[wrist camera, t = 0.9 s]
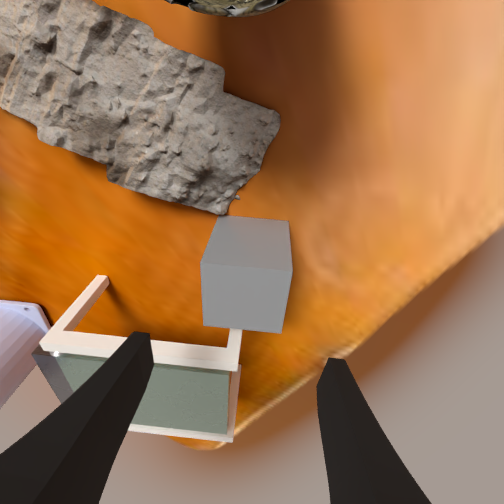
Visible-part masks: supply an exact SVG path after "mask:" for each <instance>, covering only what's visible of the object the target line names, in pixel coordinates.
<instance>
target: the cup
mask: <svg viewBox="0 0 504 504" xmlns="http://www.w3.org/2000/svg"><path fill="white" fill-rule="evenodd" d="M165 1H167V2H169V3H171V4H180V5H183V6H186V7H189V8H190V10H192V11H196V12H200V13H204V14H210V15H217V16H227V17H249V16H255V15H260V14H263V13H266V12H269V11H271V10H273V9H276V8H278V7H280V6H282V5H283V4H285V3H286V2H288V1H290V0H165Z"/></svg>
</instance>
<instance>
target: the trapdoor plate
mask: <svg viewBox="0 0 504 504" xmlns="http://www.w3.org/2000/svg"><path fill="white" fill-rule="evenodd" d="M31 355H32V357H33V358H34V360H35V361H36V363H37V365H38V366H39V368H40V370H41V371H42V373H43V374H44V376H45V378H46V379H47V381H48V383H49V384H50V386H51V387H52V389H53V390H54V392H55V394H56V396H57V397H58V399H59V400H60V402H61V404H62V403H63V402H64V401H65V400H66V399H67V398H68V397H70V396H71V395H72V394H73V393H74V392H75V391H76V390H77V389H78V388H79V387H80V386H81V385H82V384H83V383H84V382H86V381H87V380H88V379H89V378H90V377H91V376H92V375H93V374H94V373H95V372H96V371H97V370H98V369H99V368H100V367H101V366H102V365H103V364H104V362H105V361H106V360H107V359H108V358H107V357H98V356H88V355H79V354H70V353H60V352H51V351H44V350H43V349H42V347H41V345H40V344H39V345H38V346H37V347H36V349H35V350H34V351H33V352H32V353H31ZM230 375H231V371H227V370H218V369H209V368H200V367H190V366H181V365H172V364H162V363H154V367H153V370H152V373H151V376H150V379H149V382H148V385H147V388H146V391H145V393H144V395H143V397H142V400H141V402H140V404H139V406H138V409H137V411H136V413H135V415H134V417H133V420H132V422H131V424H138V425H146V426H155V427H164V428H173V429H182V430H191V431H200V432H208V433H217V434H226V435H227V428H228V421H229V398H230Z"/></svg>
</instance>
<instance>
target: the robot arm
mask: <svg viewBox="0 0 504 504" xmlns="http://www.w3.org/2000/svg"><path fill="white" fill-rule="evenodd" d="M50 329H51V326H50V324H49V322H48V320H47V318H46V316H45V314H44V312H43V310H42V308H41V307H40V306H39V305H38V304H35V303H26V302H17V301H7V300H0V409H1V407H2V406H3V405H4V404H5V403H6V401H7V400H8V399H9V398H10V397H11V395H12V394H13V393H14V392H15V390H16V389H17V388H18V387H19V385H20V384H21V383H22V382H23V380H24V379H25V378H26V377H27V375H28V374H29V373H30V372H31V371H32V370H33V368H34V367H35V366H36V365H37V363H36V361H35V360H34V358H33V357H32V355H31V353H32V352H33V351H34V350H35V349H36V347H37V346H38V345H39V344H40V343H39V342H40V340H41V339H42V338H43V337H44V336H45V335H46V334H47V332H48V331H49V330H50ZM153 367H154V359H153V353H152V347H151V341H150V334H149V333H142V332H135V331H134V332H133V333H131V335H130V336H129V337H128V338H127V339H126V340H125V341H124V342H123V343H122V344H121V346H120V347H119V348H118V349H117V350H116V351H115V352H114V353H113V354H112V355H111V356H110V357H109V358H108V359H107V360H106V361H105V362H104V364H103V365H102V366H101V367H100V368H99V369H98V370H97V371H96V372H95V373H94V374H93V375H92V376H91V377H90V378H89V379H88V380H87V381H86V382H84V383H83V384H82V385H81V386H80V387H79V388H78V389H77V390H76V391H75V392H74V393H73V394H72V395H71V396H70V397H68V398H67V399H66V400H65V401H64V402H63V403H62V404H61V405H60V406H59V407H58V408H56V409H55V410H54V411H53V412H52V413H51V414H50V415H48V416H47V417H46V418H45V419H44V420H43V421H41V422H40V423H39V424H38V425H37V426H36V427H34V428H33V429H32V430H30V431H29V432H28V433H27V434H26V435H24V436H23V437H22V438H20V439H19V440H18V441H17V442H15V443H14V444H13V445H12V446H10V447H9V448H8V449H6V450H5V451H4V452H3V453H1V454H0V504H99V501H100V498H101V495H102V492H103V490H104V487H105V484H106V481H107V479H108V476H109V473H110V470H111V468H112V465H113V462H114V460H115V458H116V455H117V453H118V450H119V448H120V446H121V444H122V441H123V439H124V437H125V435H126V433H127V431H128V428H129V426H130V424H131V422H132V420H133V417H134V415H135V413H136V411H137V409H138V406H139V404H140V402H141V400H142V397H143V395H144V393H145V391H146V388H147V385H148V382H149V379H150V376H151V373H152V370H153ZM317 406H318V418H319V424H320V431H321V438H322V444H323V450H324V457H325V463H326V470H327V476H328V483H329V492H330V502H331V504H431V502H430V501H429V499H428V498H427V497H426V495H425V494H424V493H423V491H422V490H421V488H420V487H419V486H418V484H417V483H416V481H415V480H414V478H413V477H412V475H411V474H410V473H409V471H408V470H407V468H406V467H405V465H404V464H403V462H402V460H401V459H400V457H399V456H398V454H397V453H396V451H395V450H394V448H393V446H392V445H391V443H390V442H389V440H388V439H387V437H386V435H385V433H384V432H383V430H382V428H381V427H380V425H379V423H378V421H377V420H376V418H375V416H374V414H373V413H372V411H371V409H370V407H369V406H368V404H367V402H366V400H365V398H364V396H363V394H362V393H361V391H360V389H359V387H358V385H357V383H356V381H355V379H354V377H353V375H352V373H351V371H350V369H349V367H348V365H347V363H346V361H345V360H344V359H336V358H328V361H327V363H326V365H325V368H324V370H323V372H322V375H321V377H320V379H319V382H318V384H317Z"/></svg>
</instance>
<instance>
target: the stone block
mask: <svg viewBox="0 0 504 504" xmlns="http://www.w3.org/2000/svg"><path fill="white" fill-rule="evenodd" d="M200 268H201V288H202V308H203V326H212V327H222V328H232V329H242V330H252V331H262V332H272V333H281V332H282V327H283V321H284V316H285V311H286V305H287V300H288V294H289V289H290V284H291V278H292V273H293V268H292V256H291V244H290V233H289V221H283V220H272V219H262V218H251V217H240V216H229V215H219V216H218V219H217V221H216V224H215V226H214V229H213V231H212V234H211V237H210V239H209V242H208V244H207V247H206V249H205V252H204V254H203V257H202V259H201V262H200Z"/></svg>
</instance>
